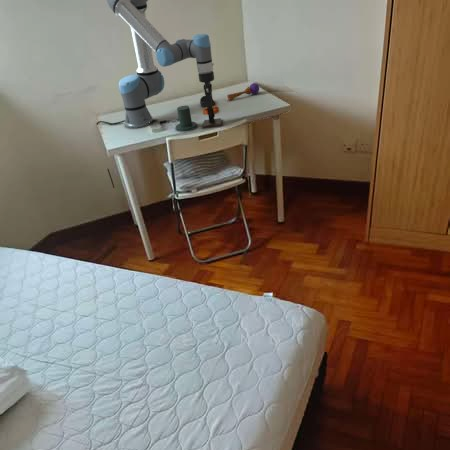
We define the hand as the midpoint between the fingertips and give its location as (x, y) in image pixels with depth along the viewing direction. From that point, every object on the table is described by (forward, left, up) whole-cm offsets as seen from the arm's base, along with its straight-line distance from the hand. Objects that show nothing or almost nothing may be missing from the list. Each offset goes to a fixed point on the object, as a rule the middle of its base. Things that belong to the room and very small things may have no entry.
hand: (212, 119), depth 217 cm
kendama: (+18, +41, -2) cm, 45 cm away
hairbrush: (-2, +29, -2) cm, 29 cm away
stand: (-14, 0, -2) cm, 14 cm away
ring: (0, 0, +4) cm, 4 cm away
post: (0, 0, -2) cm, 2 cm away
